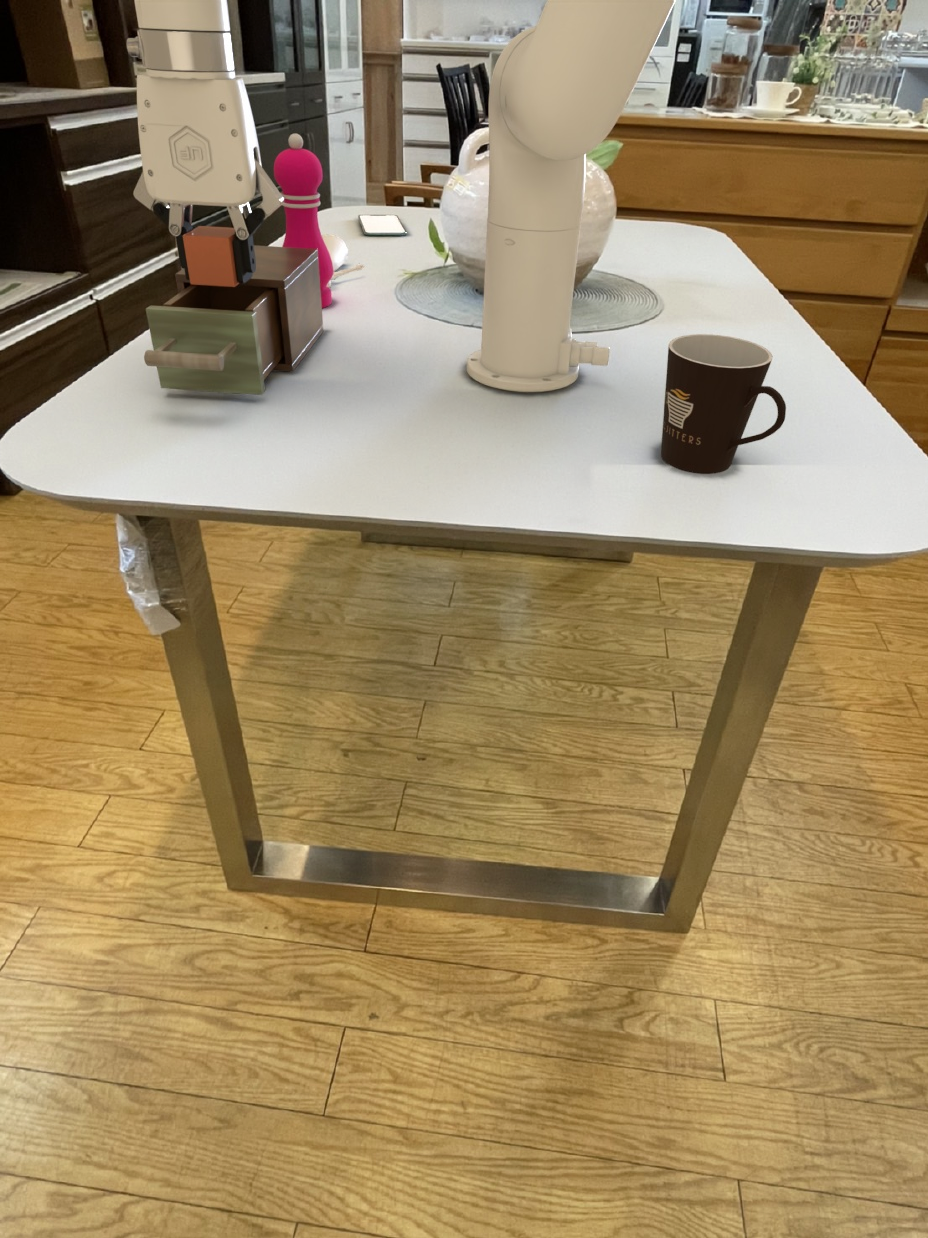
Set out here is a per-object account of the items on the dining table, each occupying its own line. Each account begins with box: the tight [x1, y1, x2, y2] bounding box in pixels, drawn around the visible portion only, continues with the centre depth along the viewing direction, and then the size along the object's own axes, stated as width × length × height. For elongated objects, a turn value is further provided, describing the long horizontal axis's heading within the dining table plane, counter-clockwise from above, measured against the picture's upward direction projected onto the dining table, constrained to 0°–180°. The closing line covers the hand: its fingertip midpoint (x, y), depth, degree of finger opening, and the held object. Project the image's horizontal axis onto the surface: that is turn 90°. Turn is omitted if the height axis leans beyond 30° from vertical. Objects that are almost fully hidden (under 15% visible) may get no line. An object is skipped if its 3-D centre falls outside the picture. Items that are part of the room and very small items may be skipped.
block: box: [183, 225, 239, 287], centre depth 79 cm, size 4×4×4 cm
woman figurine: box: [321, 234, 365, 288], centre depth 121 cm, size 12×4×18 cm
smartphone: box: [357, 214, 407, 236], centre depth 151 cm, size 8×1×16 cm
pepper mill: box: [273, 133, 333, 309], centre depth 104 cm, size 7×7×20 cm
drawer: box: [143, 285, 284, 396], centre depth 82 cm, size 19×10×8 cm, turn 175°
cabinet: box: [174, 244, 324, 373], centre depth 92 cm, size 15×12×10 cm
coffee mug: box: [660, 333, 787, 475], centre depth 70 cm, size 12×9×10 cm
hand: (219, 276), depth 80 cm, fingers closed on block, 4 cm apart
